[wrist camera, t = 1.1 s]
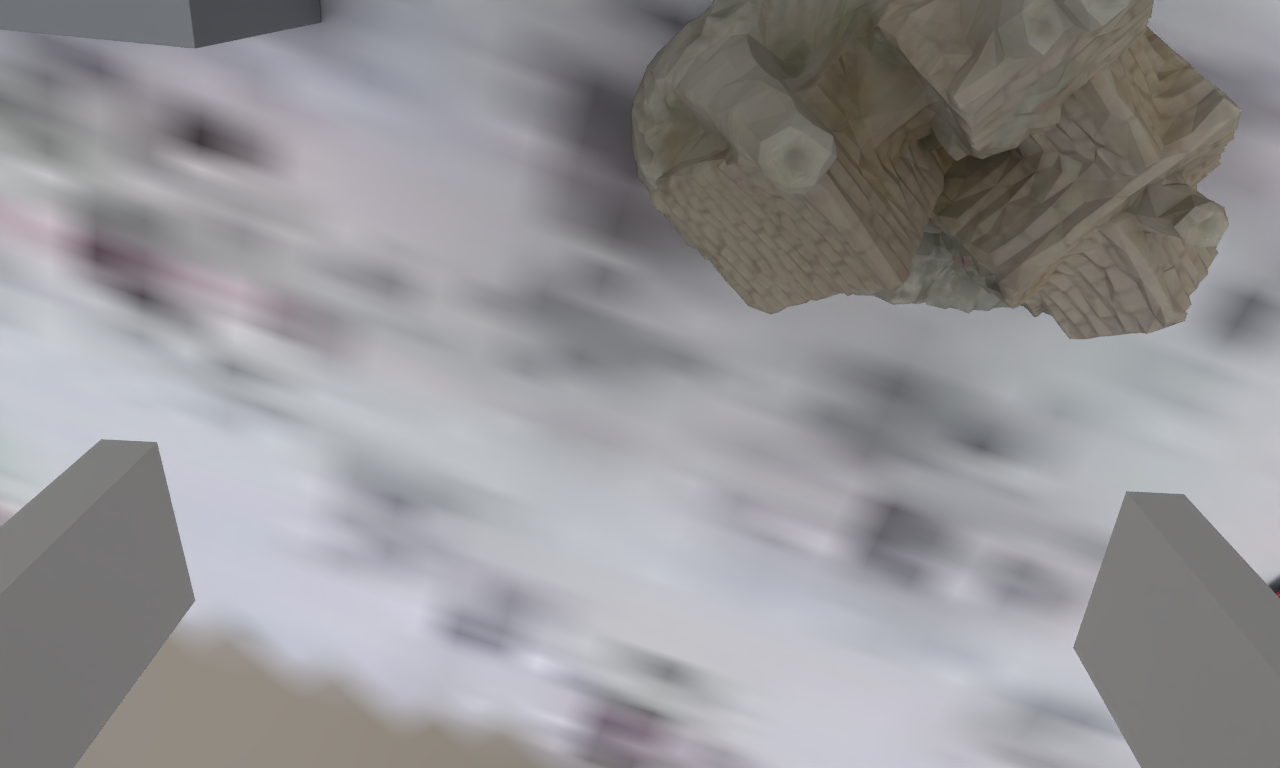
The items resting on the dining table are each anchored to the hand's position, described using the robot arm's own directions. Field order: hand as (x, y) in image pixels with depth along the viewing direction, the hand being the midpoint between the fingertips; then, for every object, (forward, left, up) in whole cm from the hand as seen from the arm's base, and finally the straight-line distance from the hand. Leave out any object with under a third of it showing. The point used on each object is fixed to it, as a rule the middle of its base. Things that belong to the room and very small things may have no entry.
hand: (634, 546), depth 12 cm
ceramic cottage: (-2, +8, -22) cm, 24 cm away
